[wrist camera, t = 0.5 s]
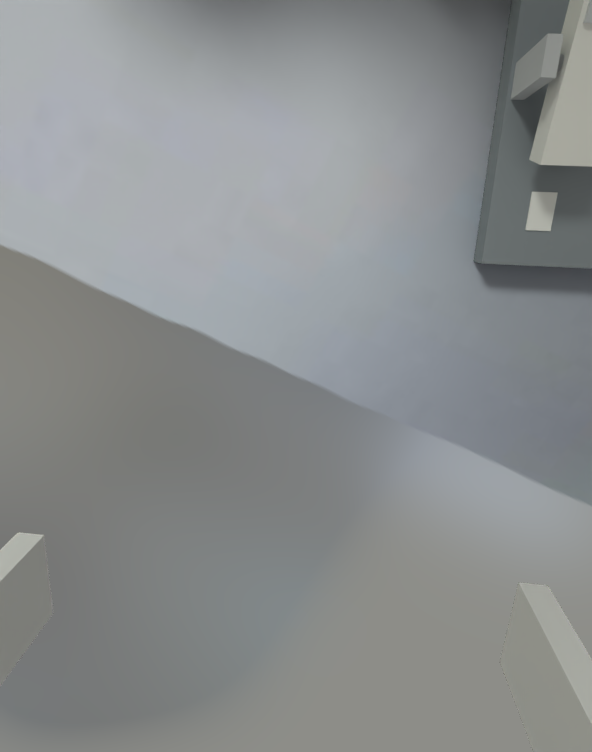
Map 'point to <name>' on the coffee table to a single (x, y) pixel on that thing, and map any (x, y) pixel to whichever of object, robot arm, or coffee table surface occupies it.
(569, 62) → the block
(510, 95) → the panel
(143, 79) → the coffee table surface
